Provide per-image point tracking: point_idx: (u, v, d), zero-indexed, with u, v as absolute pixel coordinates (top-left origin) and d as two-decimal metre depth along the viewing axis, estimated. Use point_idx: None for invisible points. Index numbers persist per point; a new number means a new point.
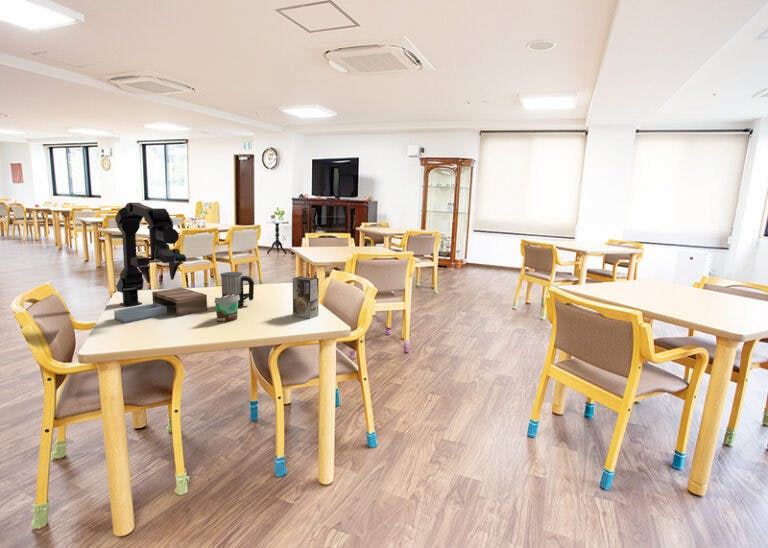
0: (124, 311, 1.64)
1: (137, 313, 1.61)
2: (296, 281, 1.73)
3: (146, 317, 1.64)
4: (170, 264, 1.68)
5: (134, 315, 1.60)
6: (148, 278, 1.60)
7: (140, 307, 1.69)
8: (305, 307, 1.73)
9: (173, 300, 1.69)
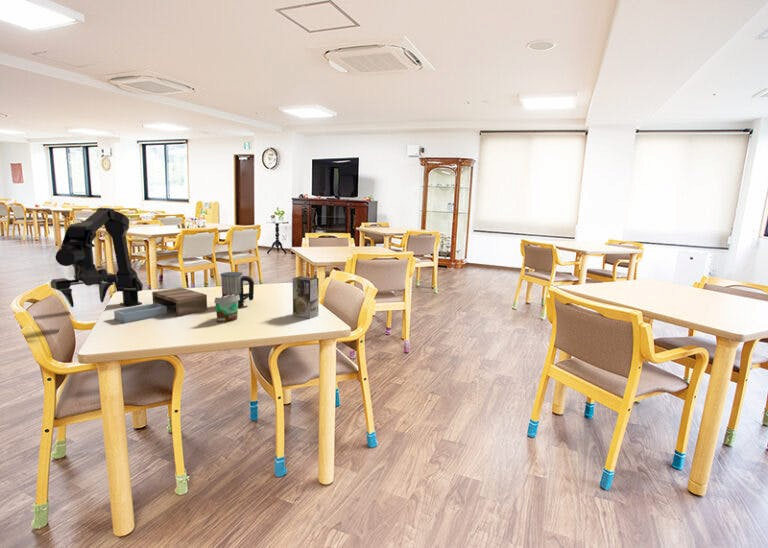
0: (124, 311, 1.64)
1: (137, 313, 1.61)
2: (296, 281, 1.73)
3: (146, 317, 1.64)
4: (100, 285, 1.54)
5: (134, 315, 1.60)
6: (71, 302, 1.46)
7: (140, 307, 1.69)
8: (305, 307, 1.73)
9: (173, 300, 1.69)
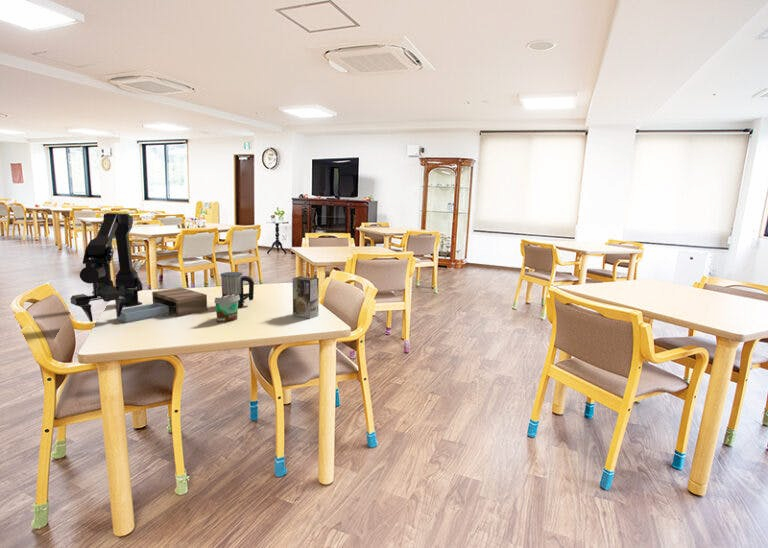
0: (126, 311, 1.65)
1: (139, 312, 1.62)
2: (296, 281, 1.73)
3: (148, 317, 1.65)
4: (116, 300, 1.60)
5: (136, 315, 1.61)
6: (90, 317, 1.51)
7: (142, 307, 1.69)
8: (305, 307, 1.73)
9: (173, 300, 1.69)
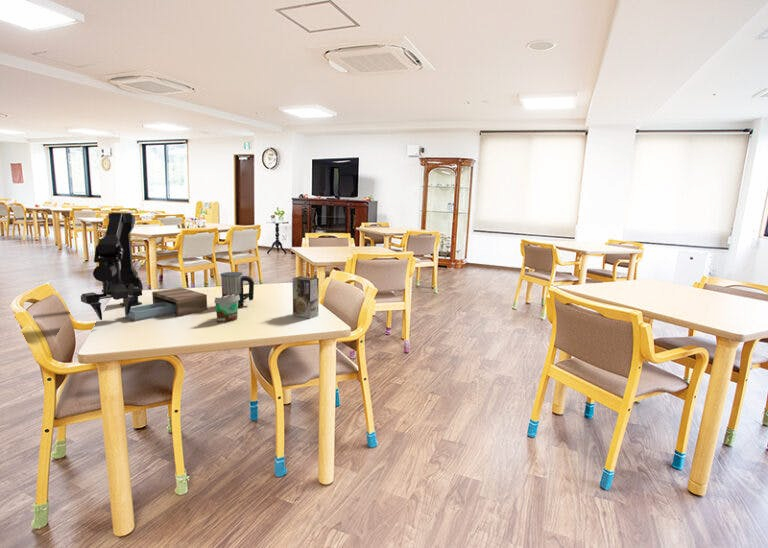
0: (134, 309, 1.67)
1: (148, 311, 1.64)
2: (296, 281, 1.73)
3: (156, 315, 1.67)
4: (125, 298, 1.62)
5: (144, 313, 1.63)
6: (100, 315, 1.54)
7: (150, 305, 1.72)
8: (305, 307, 1.73)
9: (173, 300, 1.69)
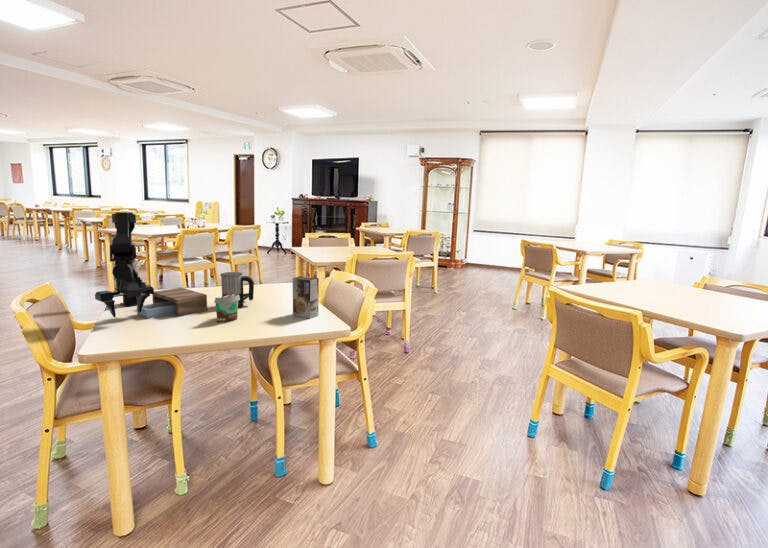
0: (146, 307, 1.71)
1: (159, 309, 1.68)
2: (296, 281, 1.73)
3: (167, 313, 1.71)
4: (137, 297, 1.66)
5: (156, 311, 1.67)
6: (114, 312, 1.57)
7: (161, 303, 1.75)
8: (305, 307, 1.73)
9: (173, 300, 1.69)
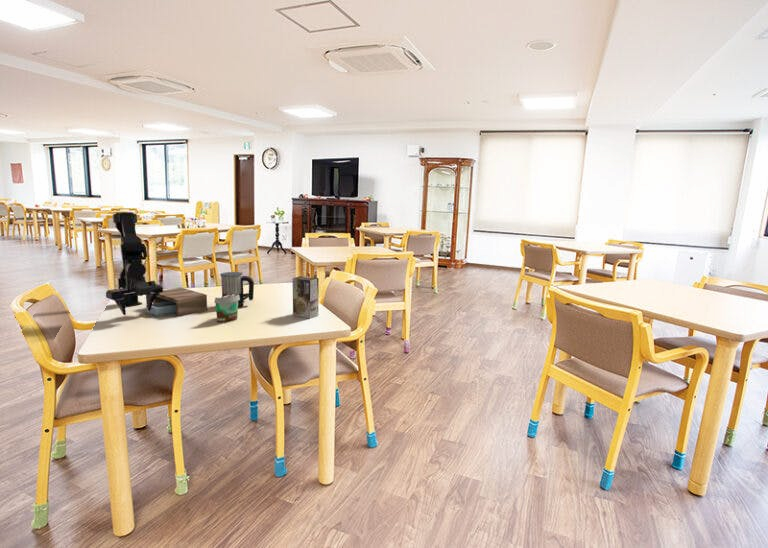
0: (155, 305, 1.73)
1: (168, 307, 1.71)
2: (296, 281, 1.73)
3: None
4: (147, 295, 1.69)
5: (165, 309, 1.70)
6: (124, 310, 1.60)
7: (170, 302, 1.78)
8: (305, 307, 1.73)
9: (173, 300, 1.69)
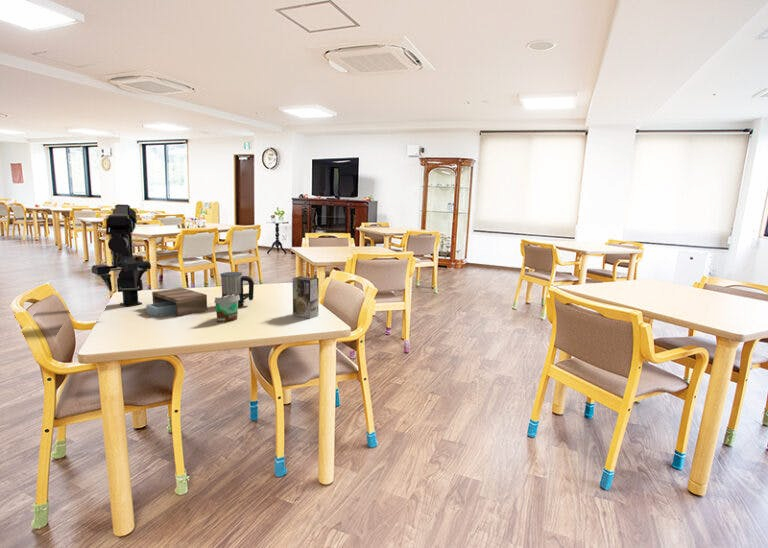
0: (155, 305, 1.73)
1: (168, 307, 1.71)
2: (296, 281, 1.73)
3: None
4: (134, 271, 1.65)
5: (165, 309, 1.70)
6: (110, 286, 1.57)
7: (170, 302, 1.78)
8: (305, 307, 1.73)
9: (173, 300, 1.69)
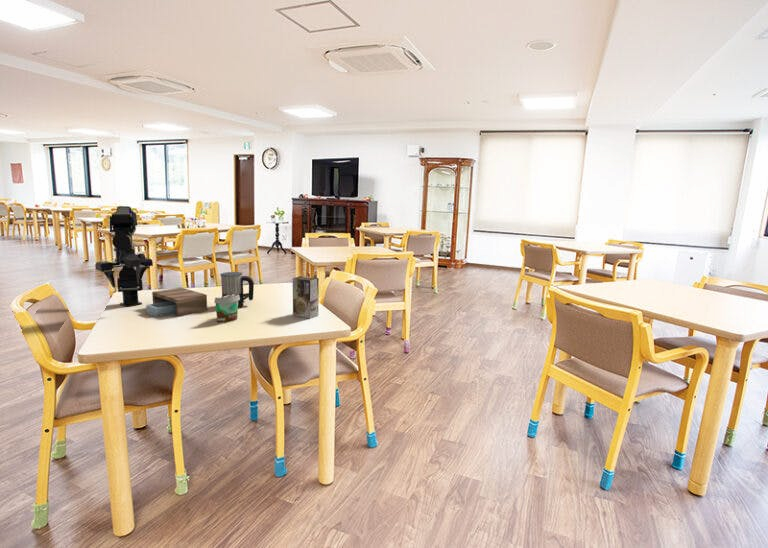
0: (155, 305, 1.73)
1: (168, 307, 1.71)
2: (296, 281, 1.73)
3: None
4: (137, 268, 1.70)
5: (165, 309, 1.70)
6: (113, 282, 1.61)
7: (170, 302, 1.78)
8: (305, 307, 1.73)
9: (173, 300, 1.69)
